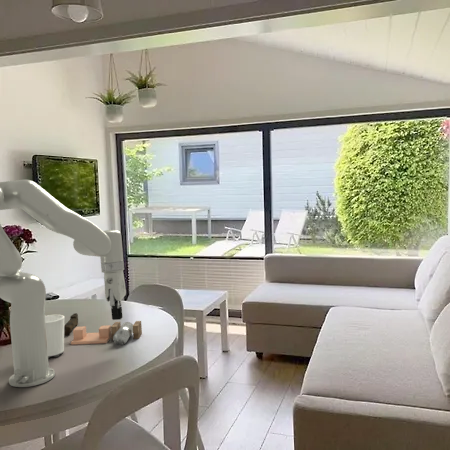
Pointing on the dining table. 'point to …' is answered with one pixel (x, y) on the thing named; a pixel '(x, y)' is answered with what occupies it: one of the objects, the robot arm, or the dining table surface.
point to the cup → (55, 334)
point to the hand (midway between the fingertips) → (117, 318)
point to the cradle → (91, 335)
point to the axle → (123, 333)
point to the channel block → (136, 329)
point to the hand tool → (71, 324)
